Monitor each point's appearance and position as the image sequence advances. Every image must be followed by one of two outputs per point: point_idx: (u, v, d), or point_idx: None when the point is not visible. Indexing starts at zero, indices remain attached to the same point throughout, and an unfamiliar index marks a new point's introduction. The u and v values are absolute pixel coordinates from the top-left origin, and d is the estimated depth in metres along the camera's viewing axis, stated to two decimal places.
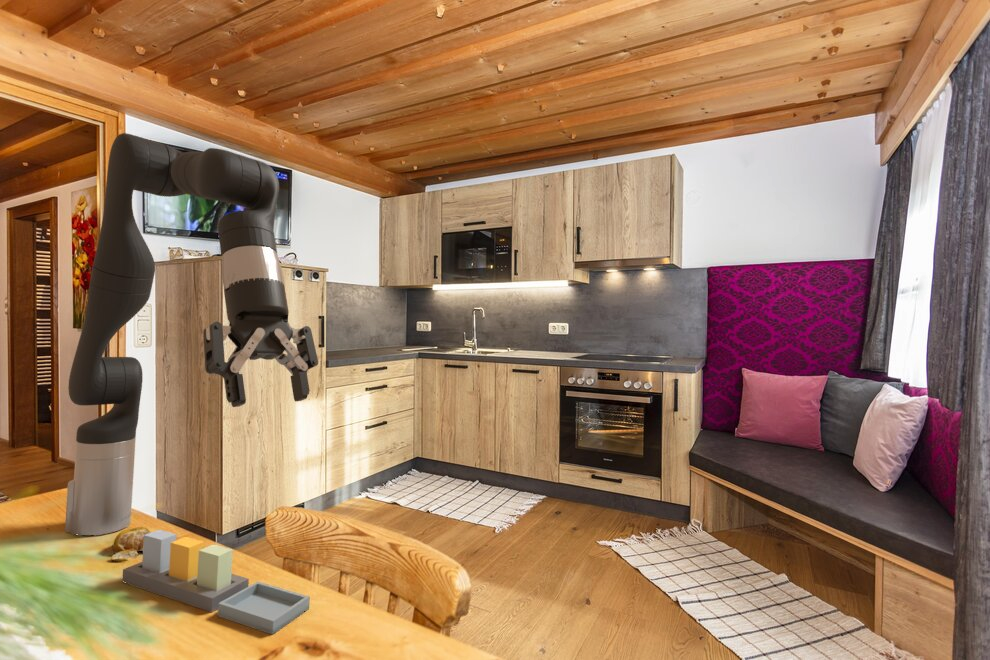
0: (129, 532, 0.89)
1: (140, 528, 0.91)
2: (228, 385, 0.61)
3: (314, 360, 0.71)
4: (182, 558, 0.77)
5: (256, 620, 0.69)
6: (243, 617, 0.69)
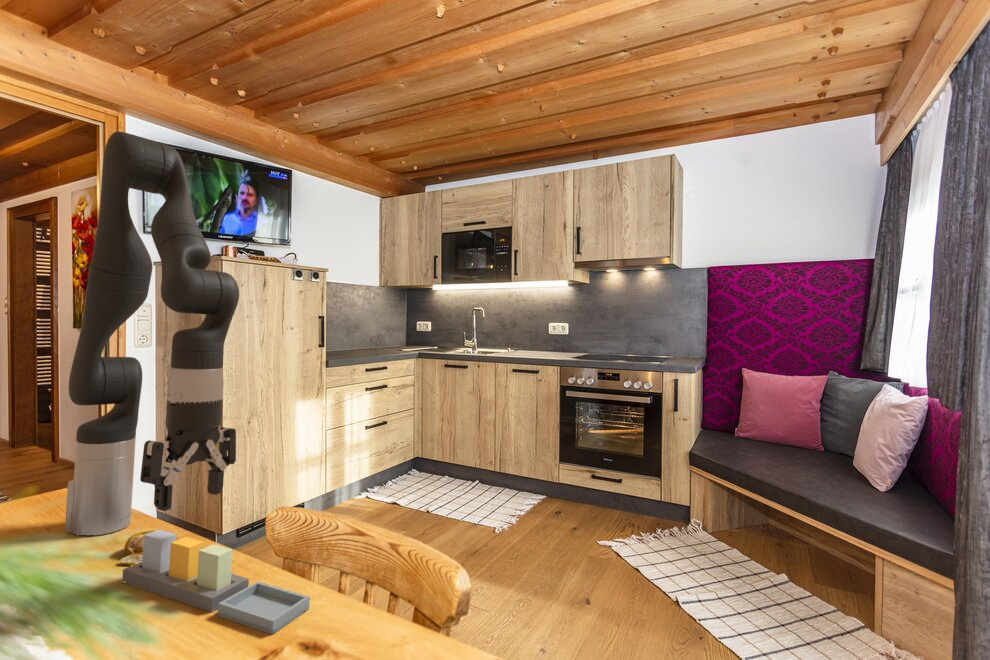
0: (140, 535, 0.88)
1: (152, 531, 0.90)
2: (158, 494, 0.73)
3: (233, 459, 0.84)
4: (182, 558, 0.77)
5: (256, 620, 0.69)
6: (243, 617, 0.69)
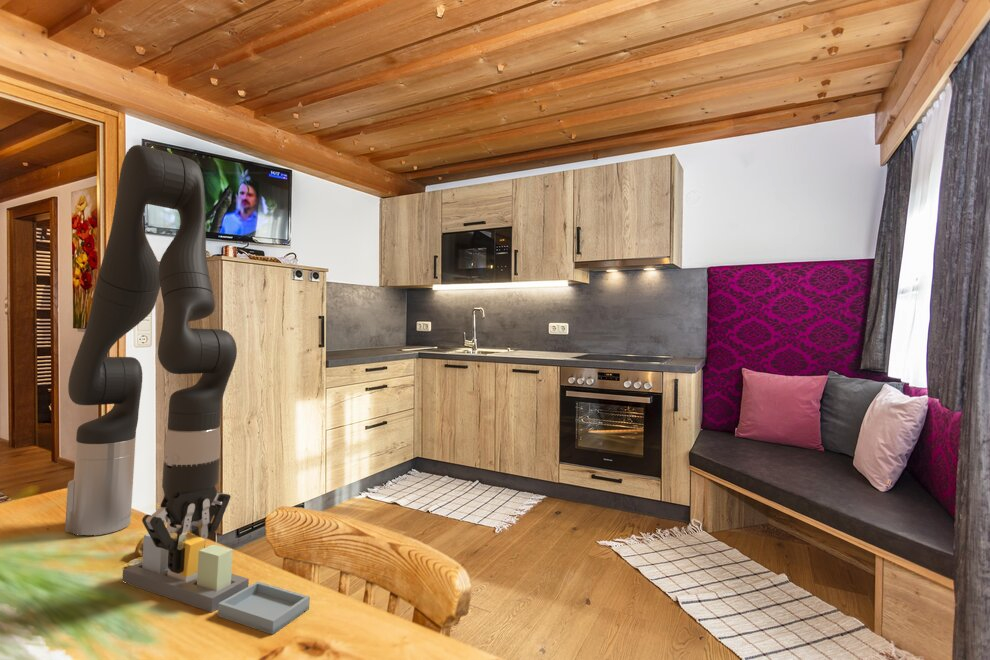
0: None
1: None
2: (172, 557, 0.76)
3: (215, 527, 0.81)
4: None
5: (256, 620, 0.69)
6: (243, 617, 0.69)
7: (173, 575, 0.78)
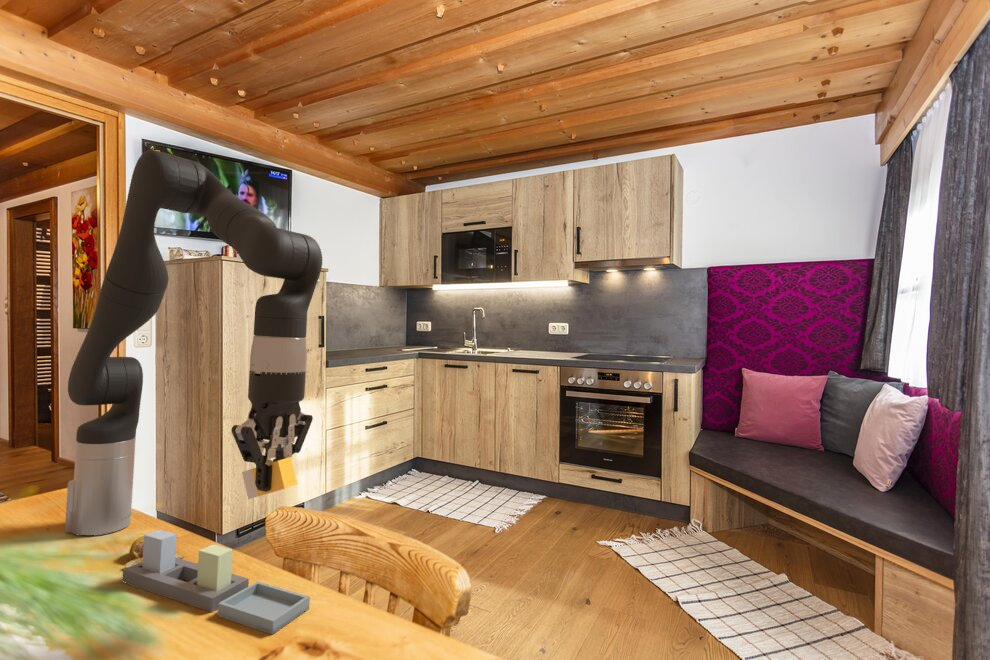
0: None
1: None
2: (260, 474, 0.70)
3: (298, 447, 0.76)
4: (272, 482, 0.71)
5: (256, 620, 0.69)
6: (243, 617, 0.69)
7: (250, 478, 0.73)
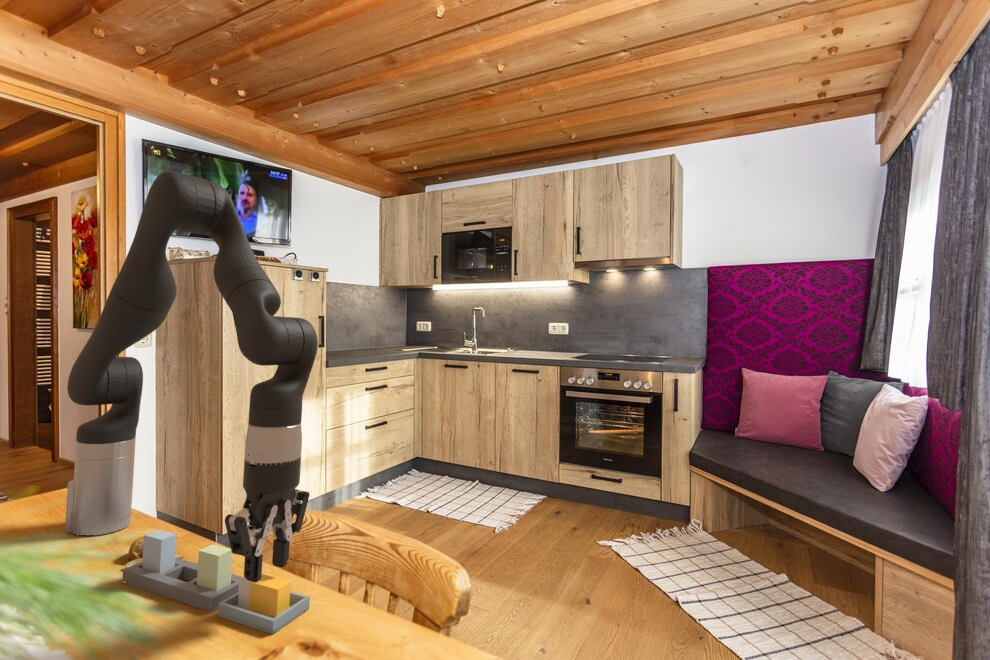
0: None
1: None
2: (249, 565, 0.69)
3: (299, 527, 0.77)
4: (266, 605, 0.71)
5: (256, 620, 0.69)
6: (243, 617, 0.69)
7: (245, 589, 0.72)
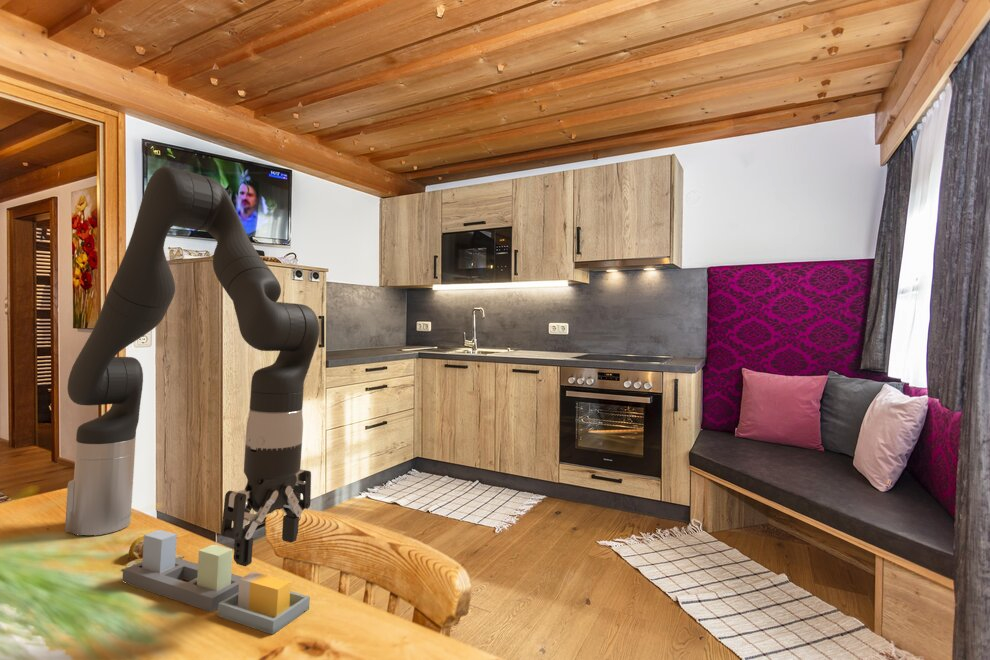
0: None
1: None
2: (238, 548, 0.68)
3: (308, 503, 0.78)
4: (266, 605, 0.71)
5: (256, 620, 0.69)
6: (243, 617, 0.69)
7: (245, 589, 0.72)
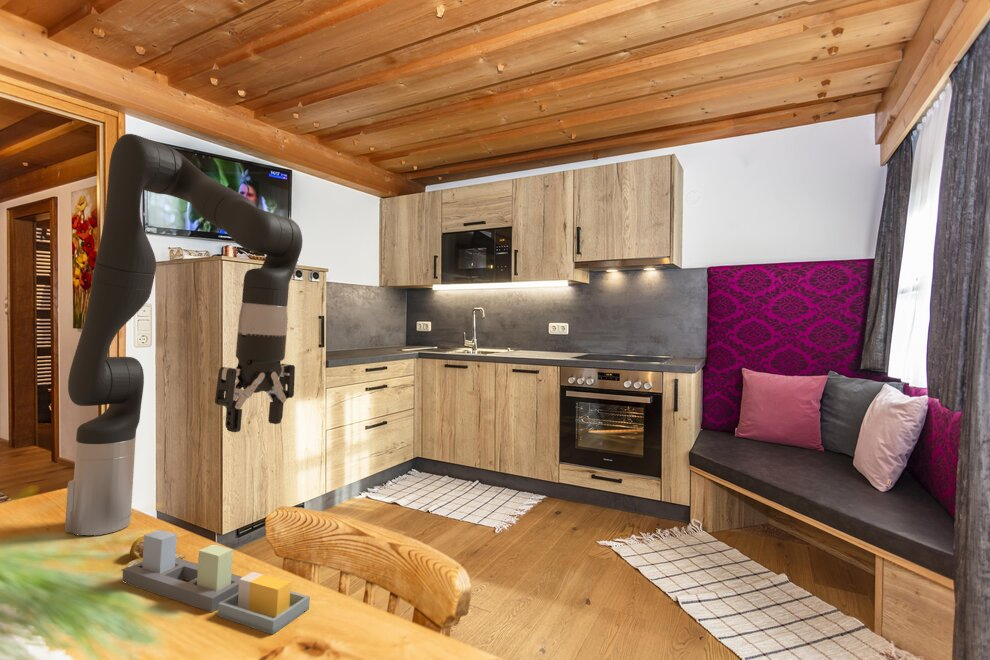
0: None
1: None
2: (229, 416, 0.80)
3: (291, 393, 0.91)
4: (266, 605, 0.71)
5: (256, 620, 0.69)
6: (243, 617, 0.69)
7: (245, 589, 0.72)
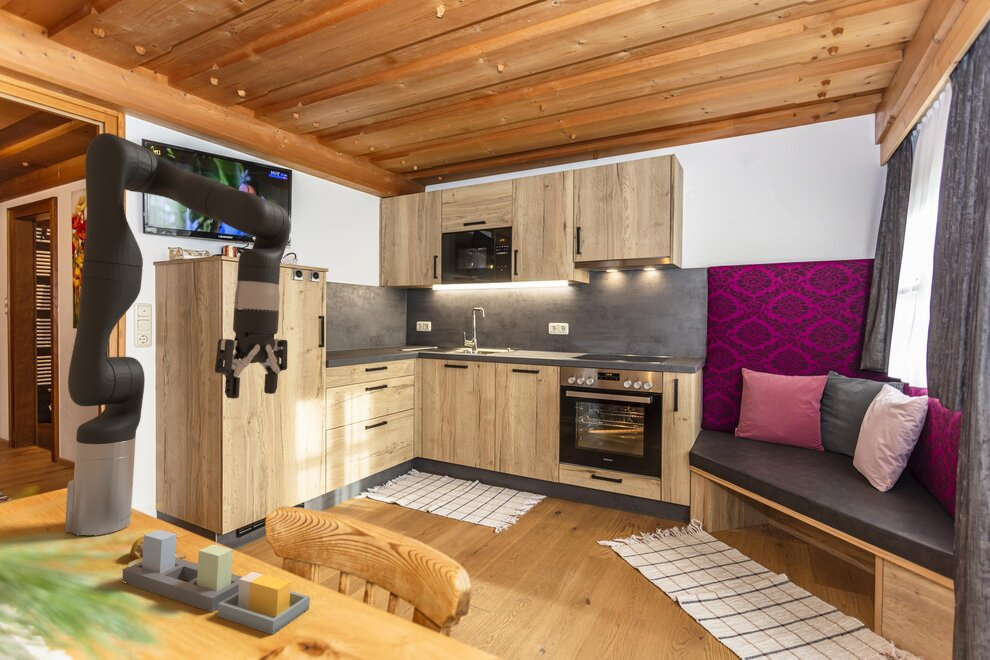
0: None
1: None
2: (228, 384, 0.88)
3: (285, 366, 0.98)
4: (266, 605, 0.71)
5: (256, 620, 0.69)
6: (243, 617, 0.69)
7: (245, 589, 0.72)
